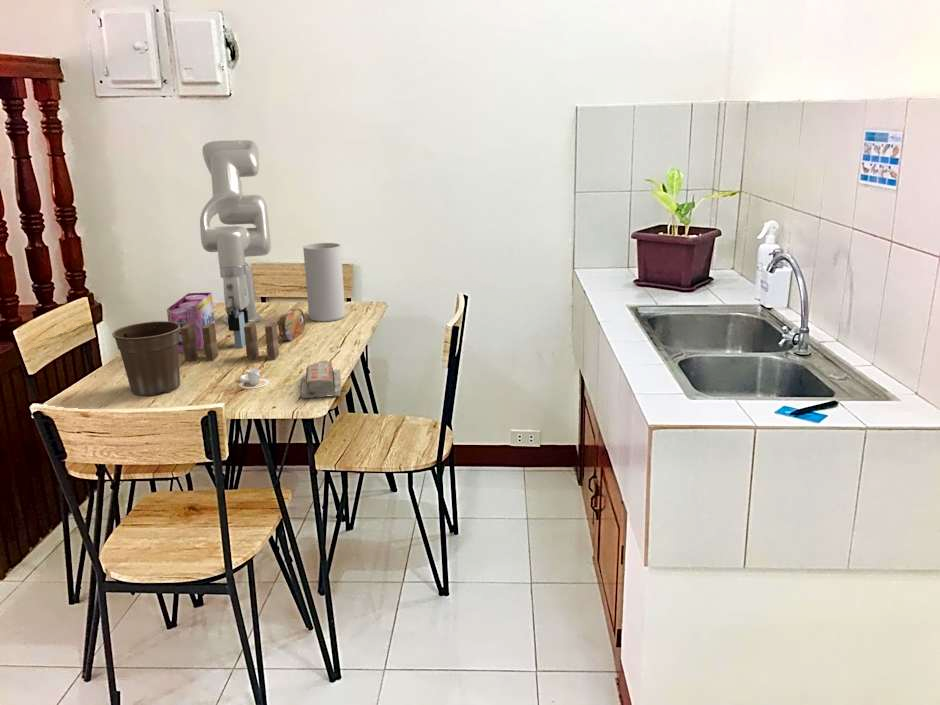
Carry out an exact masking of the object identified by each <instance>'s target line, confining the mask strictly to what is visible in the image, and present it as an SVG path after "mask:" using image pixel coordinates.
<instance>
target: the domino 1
mask: <svg viewBox="0 0 940 705" xmlns="http://www.w3.org/2000/svg"><path fill="white" fill-rule="evenodd" d="M181 334H182V342H183V349H184V353H183V356H184V362H185V363H186V362H187V363H189V362H193V361H194V360H196V359H197V358H198V357H199V352H198V351H199V350H198V351H197V343H196V335H195V327H194V323H187V324H186V325H185V326H183V327H182V328H181Z"/></svg>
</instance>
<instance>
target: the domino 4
mask: <svg viewBox="0 0 940 705" xmlns="http://www.w3.org/2000/svg"><path fill="white" fill-rule="evenodd" d="M244 334H245V343H246V344H245V352H246V360H247V361H256V359H257V358H258V357H259V355H260V351H259V343H258V342H259V340H258V331H257V322H248V323H247V324H245V326H244Z"/></svg>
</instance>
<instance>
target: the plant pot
mask: <svg viewBox="0 0 940 705" xmlns="http://www.w3.org/2000/svg"><path fill="white" fill-rule="evenodd" d="M179 329H180V325H179V324H178V323H175V322H168V320H166V321H164V320H163V321H162V320H160V321H159V320H158V321H157V320H156V321H147V322H140V323H139V322H138V323H134V324H130V325H126V326H125V325H124V326H122V327H120V328H117V329H116V330H114V331H113V332H112V333H111V334H112V337H113V338H114V339H115V342H116V346H117V349H118V350H119V352H120V356H121V359H122V360H121V361H122V362H123V363H122V364H123V367H124V370H125V373H126V377H127V380H128V385H129V388H130V392H131V393H132V394H133V395H137V396H143V397H144V396H146V397H148V396H156V395H161V393H163V392H164V393H169V392H172V391H175V390H176V389H178V388H179V387H180V386H181V375H180V374H181V373H180V355H179V351H178V342H179Z"/></svg>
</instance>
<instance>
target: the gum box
mask: <svg viewBox="0 0 940 705" xmlns="http://www.w3.org/2000/svg"><path fill="white" fill-rule="evenodd" d="M212 294H213V293H212V292H192V293H191V292H188V293H186V294H185V295H184V296H183V297H181V298H180V299H179V300H177V301H176V302H175V303H173V304H172V305H170V306H169V307H168V308H167V309H166V313H167V321H168V322H175V323H178V324H179V325H180V329H179V342H178V351H179V353H180V354H182V353H183V354H184V349H183V342H182V334H181V328H182V327H183V326H185V325H186V324H187V323H194V327H195V335H196V343H197V351H199V350H201V348H203V347H204V342H203V334H202V327H204V326H205V325H206V324H207V323H215V324H216V321H215V320H216V319H215V312H214V311H215V310H214V301H213V296H212ZM215 330H216V331H217V327H216V325H215Z"/></svg>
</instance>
